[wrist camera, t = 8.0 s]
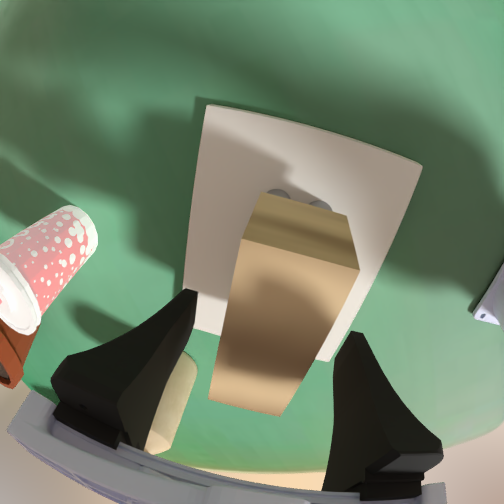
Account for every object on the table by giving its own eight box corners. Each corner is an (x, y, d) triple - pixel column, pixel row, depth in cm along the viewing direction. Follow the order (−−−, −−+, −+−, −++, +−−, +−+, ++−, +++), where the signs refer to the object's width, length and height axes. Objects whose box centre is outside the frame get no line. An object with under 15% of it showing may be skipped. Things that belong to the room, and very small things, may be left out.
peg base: (417, 162, 15) (444, 183, 12) (328, 352, 24) (328, 392, 20) (212, 104, 16) (186, 109, 12) (184, 315, 24) (166, 351, 21)
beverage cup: (98, 197, 20) (-50, 323, 8) (112, 268, 23) (7, 404, 11) (43, 194, 21) (-85, 293, 9) (59, 258, 24) (-42, 366, 12)
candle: (137, 339, 27) (90, 424, 18) (189, 344, 26) (149, 442, 17) (156, 375, 30) (120, 454, 21) (204, 381, 29) (174, 469, 20)
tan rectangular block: (261, 191, 14) (241, 238, 10) (346, 215, 14) (360, 270, 10) (226, 340, 19) (207, 398, 15) (287, 356, 19) (280, 416, 15)
